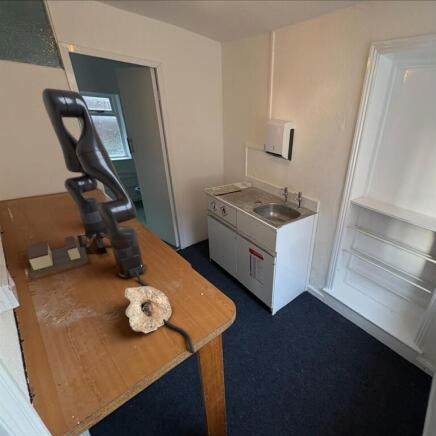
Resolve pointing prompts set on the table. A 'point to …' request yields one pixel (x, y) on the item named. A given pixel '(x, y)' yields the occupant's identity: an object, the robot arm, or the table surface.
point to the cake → (40, 255)
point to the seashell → (147, 308)
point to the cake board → (61, 261)
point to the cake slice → (72, 248)
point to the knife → (101, 246)
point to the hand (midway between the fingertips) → (102, 249)
